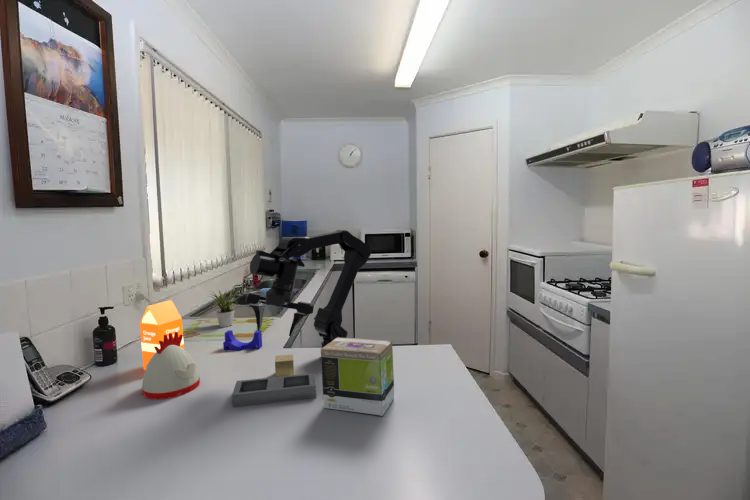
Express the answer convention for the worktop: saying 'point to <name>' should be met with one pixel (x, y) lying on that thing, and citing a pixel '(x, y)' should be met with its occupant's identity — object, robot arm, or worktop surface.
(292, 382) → the grey flat block
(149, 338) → the orange juice
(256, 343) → the cable clip
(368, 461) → the worktop surface
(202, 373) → the worktop surface
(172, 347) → the kitchen timer
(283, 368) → the brass cuboid
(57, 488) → the worktop surface
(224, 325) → the house plant
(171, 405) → the worktop surface
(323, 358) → the tea box
